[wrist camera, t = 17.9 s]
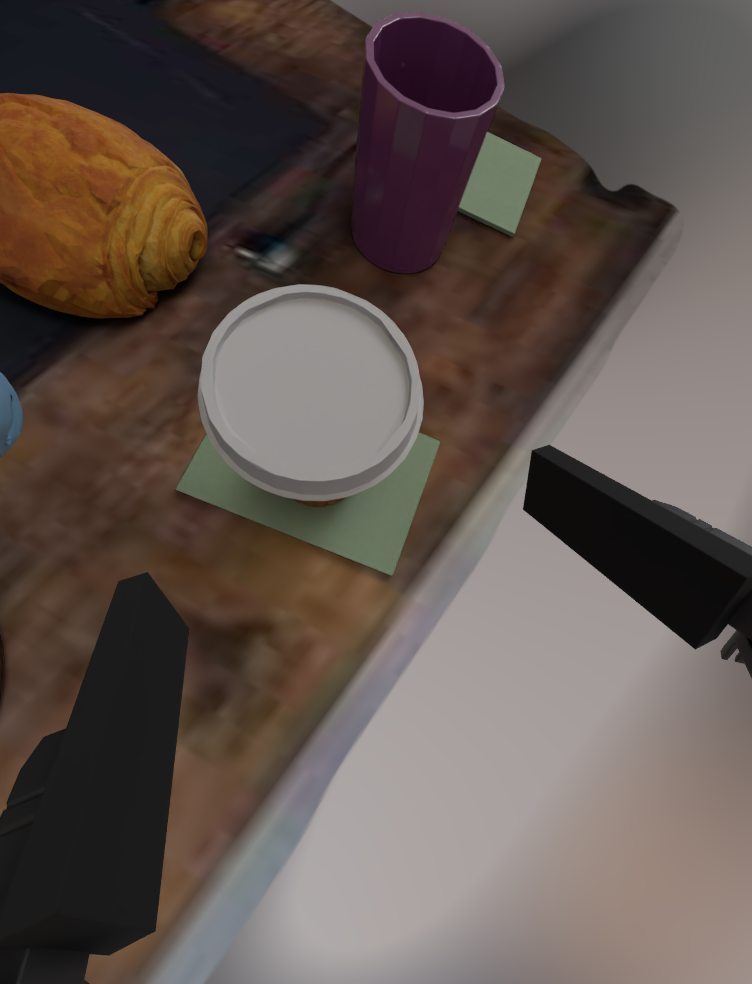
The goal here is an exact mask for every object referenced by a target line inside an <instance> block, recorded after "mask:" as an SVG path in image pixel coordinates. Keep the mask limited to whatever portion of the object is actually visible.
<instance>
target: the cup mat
mask: <svg viewBox="0 0 752 984" xmlns="http://www.w3.org/2000/svg"><path fill="white" fill-rule="evenodd" d="M439 444H440V441H438V440H435V439H433V438H431V437H428V436H426V435H424V434H421V433H419V432H418V435H417V439H416V440H415V442H414V444H413V446H412V447H411V449H410V451H409V453H408V455H407V456H406V458H405V459H404V460H403V461H402V462H401V463H400V465H399V466H398V467H397V468H396V469H395V470H394V471H393V472H392V473H391V474H390V475H388V476H387V477H386V478H384V479H383V480H382V481H380V482H379V483H378V484H376V485H375V486H373V487H370V488H368V489H366V490H364V491H361V492H359V493H357V494H355V495H353V496H349V497H346V498H345V499H344V500H342V501H341V502H338V503H336V504H334V505H331V506H326V507H311V506H306V505H303V504H301V503H298V502H296V501H295V500H293V499H291V498H286V497H281V496H279V495H276V494H273V493H271V492H268V491H265V490H263V489H261V488H258V487H256V486H254V485H253V484H251V483H250V482H248V481H247V480H245V479H244V478H242V477H241V476H240V475H239V474H238V473H237V472H235V471H234V470H233V469H232V468H231V467H230V466H229V465H227V464H226V463H225V461H224V460H223V459H222V457H221V456H220V455H219V453H218V452H217V450H216V449H215V448H214V446H213V445H212V444H211V442H210V440H209V438H208V435H207V434H206V436H205V437H204V439H203V441H202V443H201V445H200V446H199V448H198V450H197V452H196V453H195V455H194V457H193V459H192V461H191V462H190V464H189V466H188V468H187V470H186V471H185V473H184V475H183V477H182V478H181V480H180V482H179V484H178V486H177V487H176V489H175V490H177V491H179V492H182V493H184V494H187V495H189V496H192V497H194V498H197V499H199V500H202V501H204V502H207V503H209V504H212V505H214V506H217V507H219V508H222V509H224V510H227V511H229V512H232V513H234V514H237V515H239V516H242V517H244V518H247V519H249V520H252V521H254V522H257V523H259V524H262V525H264V526H267V527H269V528H272V529H274V530H277V531H279V532H282V533H284V534H287V535H289V536H292V537H294V538H297V539H299V540H302V541H304V542H307V543H309V544H312V545H314V546H317V547H319V548H322V549H324V550H327V551H330V552H332V553H335V554H337V555H340V556H342V557H345V558H347V559H350V560H352V561H355V562H357V563H360V564H362V565H365V566H367V567H370V568H372V569H375V570H377V571H380V572H382V573H385V574H387V575H390V576H393V573H394V571H395V568H396V565H397V562H398V559H399V557H400V554H401V551H402V548H403V545H404V543H405V540H406V537H407V534H408V531H409V529H410V526H411V523H412V520H413V517H414V515H415V512H416V509H417V506H418V503H419V500H420V498H421V495H422V492H423V489H424V486H425V484H426V481H427V478H428V475H429V472H430V470H431V467H432V464H433V461H434V458H435V456H436V453H437V450H438V447H439Z"/></svg>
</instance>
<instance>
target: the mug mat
mask: <svg viewBox="0 0 752 984" xmlns="http://www.w3.org/2000/svg"><path fill="white" fill-rule="evenodd" d="M540 161H541V158H539V157H537V156H535V155H533V154H531V153H529V152H527V151H525V150H523V149H521V148H519V147H517V146H515V145H513V144H511V143H509V142H507V141H505V140H503V139H501V138H499V137H496V136H494V135H492V134H490V133H487V135H486V138H485V141H484V143H483V146H482V148H481V151H480V154H479V156H478V159H477V162H476V164H475V167H474V170H473V172H472V175H471V178H470V180H469V183H468V185H467V188H466V191H465V193H464V196H463V199H462V201H461V204H460V207H459V209H458V212H460V213H462V214H464V215H467V216H469V217H471V218H473V219H475V220H477V221H479V222H481V223H483V224H486V225H488V226H490V227H492V228H494V229H496V230H498V231H500V232H503V233H505V234H507V235H509V236H511V237H513V236H514V234H515V231H516V229H517V226H518V223H519V220H520V217H521V215H522V212H523V209H524V206H525V203H526V201H527V198H528V195H529V192H530V189H531V187H532V184H533V181H534V178H535V175H536V173H537V170H538V167H539V164H540Z"/></svg>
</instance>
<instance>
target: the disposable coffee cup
mask: <svg viewBox="0 0 752 984" xmlns="http://www.w3.org/2000/svg"><path fill="white" fill-rule="evenodd" d="M198 402H199V409H200V415H201V421H202V423H203V425H204V428H205V430H206V433H207V435H208V438H209V440H210V442H211V444H212V445H213V446H214V448H215V449H216V450H217V452H218V453H219V455H220V456H221V457H222V459H223V460H224V461H225V463H226V464H227V465H229V466H230V467H231V468H232V469H233V470H234V471H235V472H237V473H238V474H239V475H240V476H241V477H242V478H244V479H245V480H247V481H248V482H250V483H251V484H253V485H254V486H256V487H258V488H261V489H263V490H265V491H268V492H271V493H273V494H276V495H279V496H281V497H286V498H291V499H293V500H295V501H296V502H298V503H301V504H303V505H306V506H311V507H326V506H331V505H334V504H336V503H338V502H341V501H342V500H344V499H345V498H346V497H349V496H353V495H355V494H357V493H359V492H361V491H364V490H366V489H368V488H370V487H373V486H375V485H376V484H378V483H379V482H380V481H382V480H383V479H384V478H386V477H387V476H388V475H390V474H391V473H392V472H393V471H394V470H395V469H396V468H397V467H398V466H399V465H400V463H401V462H402V461H403V460H404V459H405V458H406V456H407V455H408V453H409V451H410V449H411V447H412V446H413V444H414V442H415V440H416V439H417V435H418V432H419V429H420V425H421V422H422V416H423V404H424V401H423V391H422V383H421V380H420V376H419V370H418V365H417V361H416V359H415V356H414V354H413V351H412V349H411V346H410V345H409V343H408V341H407V339H406V338H405V336H404V335H403V333H402V332H401V331H400V329H399V328H398V327H397V326H396V324H395V323H394V322H393V321H392V320H391V319H390V318H389V317H388V316H387V315H385V314H384V313H383V312H382V311H381V310H379V309H378V308H376V307H375V306H374V305H372V304H371V303H369V302H368V301H366V300H364V299H362V298H359V297H357V296H354V295H352V294H349V293H347V292H344V291H342V290H339V289H336V288H332V287H326V286H320V285H302V284H298V285H292V286H286V287H280V288H274V289H271V290H268V291H266V292H263V293H260V294H257V295H255V296H254V297H252V298H250V299H248V300H246V301H244V302H243V303H242V304H240V305H239V306H238V307H236V308H235V309H234V310H232V311H231V312H230V313H229V314H228V315H227V316H226V317H225V318H224V320H223V321H222V322H221V323H220V325H219V326H218V327H217V328H216V329H215V331H214V332H213V334H212V336H211V339H210V341H209V343H208V346H207V348H206V350H205V353H204V355H203V357H202V370H201V373H200V379H199V388H198Z"/></svg>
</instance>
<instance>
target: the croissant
mask: <svg viewBox="0 0 752 984" xmlns="http://www.w3.org/2000/svg"><path fill="white" fill-rule="evenodd" d="M207 235H208V231H207V224H206V220H205V217H204V215H203V213H202V210H201V207H200V205H199V203H198V201H197V199H196V198H195V196H194V193H193V192H192V191H191V188H190V185H189V183H188V181H187V180H186V178H185V176H184V175H183V173H182V171H181V170H180V169H179V168H178V167H177V166H176V165H175V164H174V163H173V162H172V161H171V160H170V159H168V158H167V157H166V156H165V155H164V154H162V153H161V152H160V151H159V150H158V149H156V148H155V147H154V146H153V145H152V144H150V143H149V142H147V141H145V140H143V139H141V138H140V137H139V136H138V135H137V134H136V133H134V132H133V131H132V130H130V129H129V128H127V127H126V126H124V125H123V124H121V123H119V122H116V121H114V120H112V119H110V118H108V117H106V116H103V115H101V114H99V113H96V112H94V111H91V110H89V109H86V108H83V107H81V106H79V105H76V104H74V103H71V102H69V101H65V100H58V99H53V98H49V97H45V96H41V95H34V94H31V95H23V94H13V93H2V94H0V283H1V284H4V285H5V286H6V287H8V288H9V289H10V290H11V291H13V292H15V293H16V294H18V295H20V296H22V297H24V298H26V299H28V300H30V301H32V302H34V303H37V304H39V305H42V306H44V307H47V308H50V309H53V310H56V311H60V312H64V313H68V314H73V315H77V316H82V317H89V318H99V319H100V318H129V317H134V316H141V315H143V313H144V312H145V311H146V309H147V308H151V309H154V308H155V304H156V303H157V302H158V297H157V293H156V291H162V290H168V289H174V288H175V286H176V285H177V283H178V282H181V281H183V280H186V279H187V277H188V276H189V275H190V273H192V272H193V270H194V269H195V268H196V266H197V263H198V262H199V260H200V259H201V258H202V257H203V256H204V255H205V253H206V250H207V243H208V236H207Z"/></svg>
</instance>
